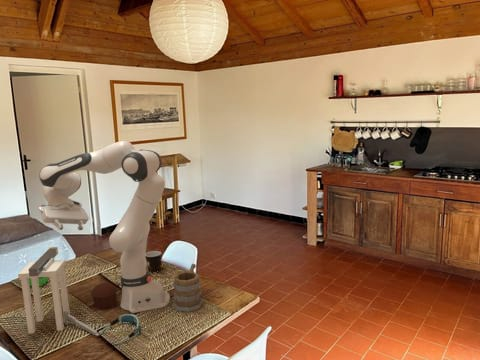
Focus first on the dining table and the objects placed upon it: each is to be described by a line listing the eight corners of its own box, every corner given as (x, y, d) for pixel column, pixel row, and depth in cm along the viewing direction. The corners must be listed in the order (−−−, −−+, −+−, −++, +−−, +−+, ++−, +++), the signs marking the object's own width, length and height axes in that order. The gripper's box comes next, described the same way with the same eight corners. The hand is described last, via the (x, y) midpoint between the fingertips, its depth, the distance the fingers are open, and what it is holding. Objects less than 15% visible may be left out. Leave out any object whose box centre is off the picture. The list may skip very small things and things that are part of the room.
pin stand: (71, 315, 166) (64, 256, 161) (63, 330, 154) (55, 267, 149) (37, 318, 164) (29, 258, 159) (26, 334, 152) (17, 270, 147)
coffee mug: (145, 268, 213) (144, 252, 211) (161, 266, 216) (160, 250, 214) (147, 277, 202) (145, 259, 200) (163, 274, 205) (162, 257, 203)
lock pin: (58, 253, 168) (57, 246, 168) (37, 276, 145) (36, 268, 144) (50, 254, 168) (50, 247, 167) (29, 276, 145) (28, 269, 144)
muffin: (123, 300, 178) (121, 280, 176) (109, 312, 167) (107, 291, 165) (101, 297, 181) (99, 278, 179) (86, 309, 170) (84, 288, 169)
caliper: (63, 324, 159) (61, 310, 158) (65, 323, 160) (64, 309, 159) (97, 336, 150) (96, 322, 148) (99, 335, 151) (98, 321, 149)
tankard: (197, 313, 165) (195, 280, 162) (169, 310, 167) (167, 279, 165) (209, 291, 184) (208, 262, 181) (185, 290, 186) (183, 261, 184)
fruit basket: (50, 281, 201) (48, 261, 199) (40, 289, 192) (37, 268, 190) (30, 281, 202) (28, 261, 200) (19, 288, 193) (16, 268, 191)
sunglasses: (147, 331, 152) (145, 320, 151) (114, 353, 142) (112, 342, 140) (128, 319, 162) (126, 309, 160) (96, 339, 151) (93, 329, 150)
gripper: (41, 199, 161) (51, 223, 154) (84, 203, 177) (95, 224, 171) (34, 210, 163) (44, 233, 156) (77, 212, 179) (88, 234, 173)
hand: (71, 229), depth 163 cm, fingers open, 8 cm apart
